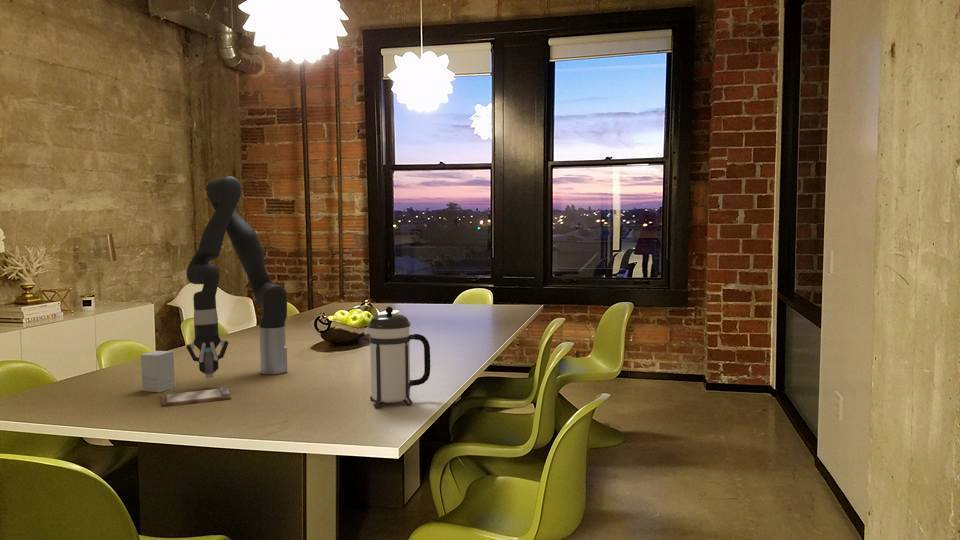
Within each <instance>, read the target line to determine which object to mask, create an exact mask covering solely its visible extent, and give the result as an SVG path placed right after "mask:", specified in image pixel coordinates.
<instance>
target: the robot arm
mask: <svg viewBox="0 0 960 540" xmlns="http://www.w3.org/2000/svg"><path fill="white" fill-rule="evenodd" d="M242 190H243V189H242V184H241V182H240V181H239V179H238V178H236V177H234V176H231V175H230V176H223V177H219V178H214V179H211V180H210V181H208V183H207V184H206V188H205V192H206V196H207V198H208V200H209V202H210V204H211V206H212V207H213V209H214V210H215V211H214V212H213V215H212V217H211V218H210V220H209V221H208V222H207V224H206V225H205V227H204V229H203V232H202V234H201V237H200V241H199V244H198V248H197V251H196V252H195V253H194V255H193V257H192V258H191V261H190V262H189V264H188V266H187V269H186V278H187V280H188V282H189V283H191V284H192V285H202V289H201V290H200V291H197V292H194V294H193V298H192V299H193V311H194V312H193V327H194V339H193V342H192V343H189V344H186V349H187V351H188V354H189V355H190V356H191V358H192V360H193V362H198V369H199V372H201V373H202V374H204V362H203V357H204V351H205V348H207V347H211V349H212V353H213V357H214V373H216V372H217V370H219V368H220V367H219V360H222V359H223V358H224V356H225V353H226V352H227V348H228V345H229V342H228V340H223V339H221V338H220V336H219V335H220V334H219V318H218V317H219V316H218V311H217V299H216V295H217V292H218V287H219V283H220V277H221V276H220V269H219V268H218V267H217V265H215V264H214V263H209V262H211V261H213V260H216V259H218V258H219V257H220V253H221V249H222V245H223V243H224V242H223V241H224V239H225V234H227V235H228V237H229V240H230V242H231V245H232V246H233V249H234V252H235V253H236V255H237V258H238V260H239V262H240V263H241V266H242V268H243V271H244V273H245V274H246V276H247V279H248V281H249V284H250V286H251V289H252V293H253V296H254V299H255V301H256V304H258V305H259V306H261V307H262V308H263V309H262V310H263V311H262V313H263V314H262V317H261V318H260V319H259V320H258V321H259V326H258V327H259V353H260V354H259V355H260V357H259V358H260V373H261V374H263V375H277V374H278V375H279V374H283V373H288V347H287V345H286V342H287V341H286V321H287V318H288V296H287V291H286V289H285V288H284V287H283V286H282V285H280V284H275V283H273V281H272V280H271V278H270V276H269V274H268V271H267V269H266V266H265V265H266V264H265V255H264V249H263V245H262V243H261V241H260V238H259V237H258V234H257V232H256V231H255V229H254V228H253V227H252V226H250V224H249V223H247V221H245V220H244V219H243V218H242V217H241V216H240V214H239V213H238V212H237V209H236V208H237V205H238V203H239V201H240V198H241V195H242V194H243V193H242V192H243V191H242ZM219 344H220V346H221V350H220V352H219V354H218V353H217V350H216V349H217V348H218V346H219ZM195 347H196V348H197V349H198V350H199V353H198V356H196V353H195V352H194V350H195Z"/></svg>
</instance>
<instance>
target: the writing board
mask: <svg viewBox="0 0 960 540" xmlns="http://www.w3.org/2000/svg"><path fill="white" fill-rule="evenodd" d="M228 400H232V395H231V393H230V390H229V388H228V386H222V387H219V388H215V389H204V390H195V391H186V392H185V391H183V392H177V393H176V392H175V393H167V394H166V393H165V394H161V407H162V408H163V407H165V408H166V407H171V406H180V405H181V406H182V405H184V406H185V405H193V404H201V403H210V402H219V401H228Z"/></svg>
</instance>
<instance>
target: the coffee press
mask: <svg viewBox="0 0 960 540" xmlns="http://www.w3.org/2000/svg"><path fill="white" fill-rule="evenodd" d="M385 312H386V313H385V314H378V315H375V316H373V317H372V318H371V319H370V320H369V323H368V326H367V327H366V328H365V331H364V333H363V334H364V335H369V336H368V339H369V340H368V341H369V344H370V345H369V347H370V348H369V350H370V351H369V353H370V354H369V355H370V396H369V398H370V401H371V402H373V401H375V404H374V408H375V409H381V408H382V407H383V405H384V403H385V404H386V403H389V404H390V403H399V402H403V403H404V404H405V406H407V407H409V406H412V404H413V401H412V399H411V397H410V396H411V387H414V386H420V385H423V384H425V383H426V382H427V381H428V380H429V378H430V375H431V347H430V342H429V341H428V339H427V337H426V336H425V335H422V334H419V333H414V334H410V326H411V322H410V321H409V318H408V317H407V316H405V315H403V314H397V313H393V312H394V309H393V307H392V306H387V307H386V308H385ZM411 340H415V341H420V342H421V343H422V344H423V358H424V359H423V360H424V362H423V363H424V366H423V367H424V368H423V369H424V372H423V375H422V377H420V378H418V379H413V380H412V379H411V363H410V362H411V360H410V357H411V356H410V353H411V351H410V350H411V349H410V342H411Z"/></svg>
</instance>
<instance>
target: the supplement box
mask: <svg viewBox="0 0 960 540" xmlns="http://www.w3.org/2000/svg"><path fill="white" fill-rule="evenodd" d="M174 360H175V358H174V351H169V350H167V351H166V350H155V351H150V352H146V353H142V354H140V363H141V382H142V383H141V384H142V386H141V387H142V392H151V393H152V392H153V393H161V392H165V391H169V390H172V389H175V388H176V382H175V362H174Z"/></svg>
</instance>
